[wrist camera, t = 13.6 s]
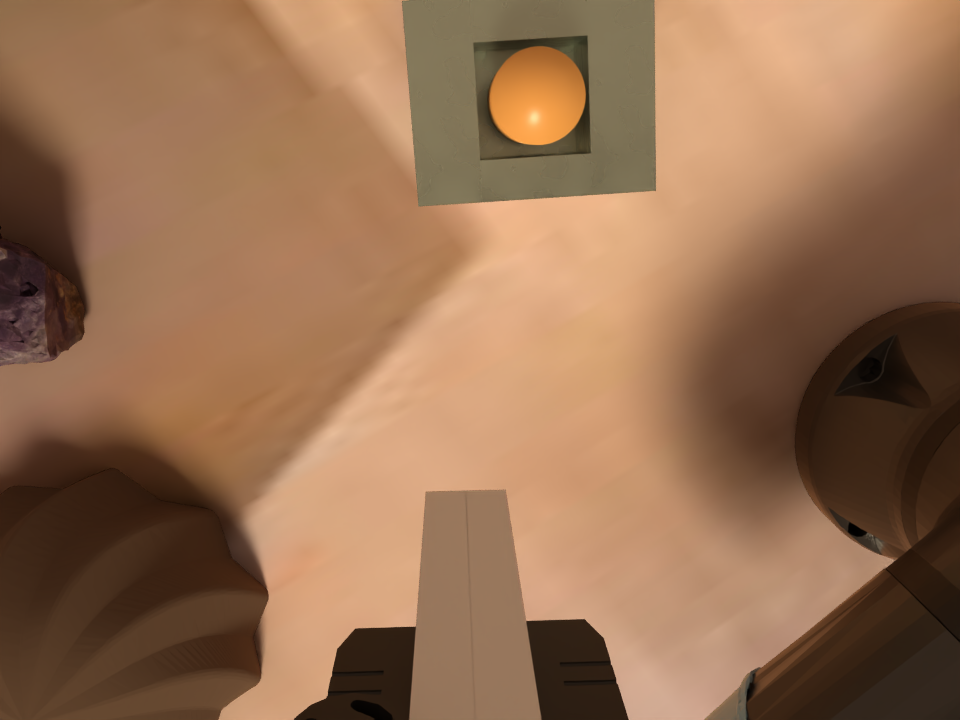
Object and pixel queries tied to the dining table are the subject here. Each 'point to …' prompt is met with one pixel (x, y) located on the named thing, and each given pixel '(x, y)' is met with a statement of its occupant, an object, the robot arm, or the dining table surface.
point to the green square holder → (473, 64)
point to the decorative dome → (120, 606)
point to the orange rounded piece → (536, 96)
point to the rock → (35, 308)
